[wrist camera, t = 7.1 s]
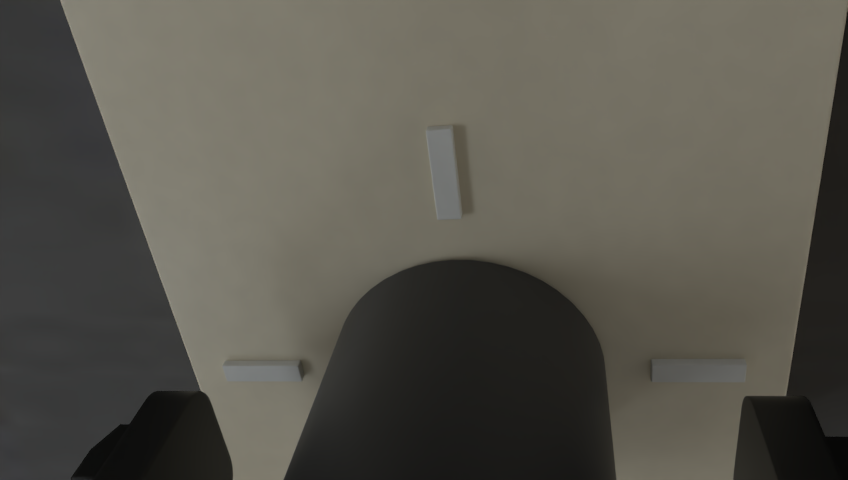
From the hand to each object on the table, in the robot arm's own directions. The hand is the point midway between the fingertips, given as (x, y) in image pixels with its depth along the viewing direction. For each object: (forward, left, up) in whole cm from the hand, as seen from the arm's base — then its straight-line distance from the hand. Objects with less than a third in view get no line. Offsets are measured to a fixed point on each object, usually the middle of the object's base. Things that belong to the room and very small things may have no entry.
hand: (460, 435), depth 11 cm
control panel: (-1, 0, -4) cm, 4 cm away
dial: (0, 0, -2) cm, 2 cm away
